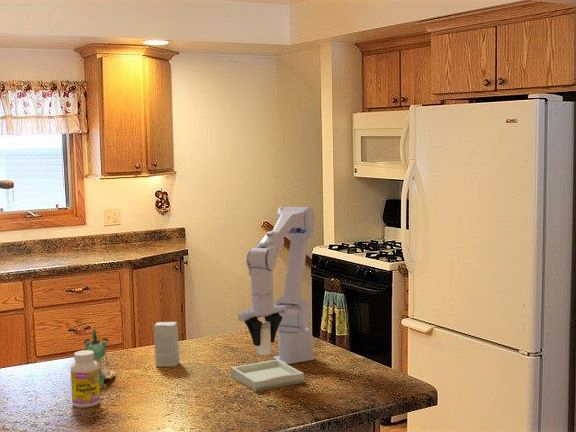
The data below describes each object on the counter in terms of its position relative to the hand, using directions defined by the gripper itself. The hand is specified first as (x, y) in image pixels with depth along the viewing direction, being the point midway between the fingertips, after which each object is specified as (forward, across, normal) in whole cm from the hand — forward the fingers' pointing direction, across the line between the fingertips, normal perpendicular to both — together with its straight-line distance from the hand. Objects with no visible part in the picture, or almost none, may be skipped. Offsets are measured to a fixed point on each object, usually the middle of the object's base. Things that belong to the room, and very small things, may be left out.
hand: (263, 343), depth 208 cm
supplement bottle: (+10, +45, -12) cm, 47 cm away
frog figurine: (+10, +35, -29) cm, 46 cm away
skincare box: (+10, +14, -29) cm, 33 cm away
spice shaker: (+2, 0, 0) cm, 3 cm away
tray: (+9, 0, +1) cm, 9 cm away
